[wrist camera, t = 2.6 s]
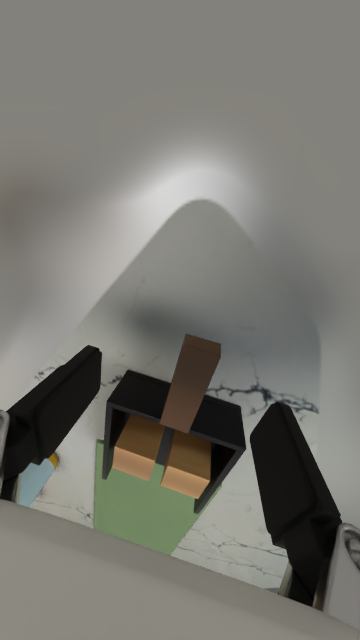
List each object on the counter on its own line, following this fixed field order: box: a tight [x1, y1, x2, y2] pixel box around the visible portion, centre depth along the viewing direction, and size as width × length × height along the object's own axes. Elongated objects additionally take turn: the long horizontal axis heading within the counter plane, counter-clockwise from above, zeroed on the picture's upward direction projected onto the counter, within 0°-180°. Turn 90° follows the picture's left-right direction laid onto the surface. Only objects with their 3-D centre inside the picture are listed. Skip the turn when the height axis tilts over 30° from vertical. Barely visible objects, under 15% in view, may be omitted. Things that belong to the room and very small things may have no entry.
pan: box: [102, 334, 246, 514], centre depth 17 cm, size 22×12×4 cm, turn 166°
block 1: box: [112, 414, 165, 481], centre depth 19 cm, size 4×4×4 cm
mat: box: [94, 440, 221, 556], centre depth 33 cm, size 36×18×1 cm, turn 166°
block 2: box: [160, 429, 211, 499], centre depth 19 cm, size 4×4×4 cm
